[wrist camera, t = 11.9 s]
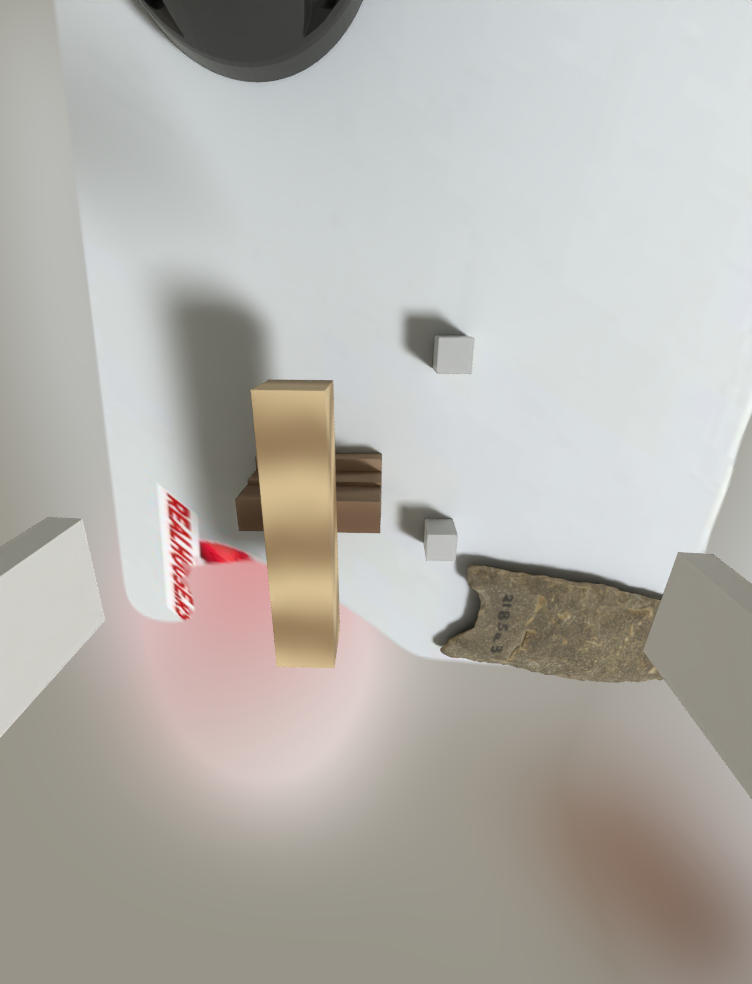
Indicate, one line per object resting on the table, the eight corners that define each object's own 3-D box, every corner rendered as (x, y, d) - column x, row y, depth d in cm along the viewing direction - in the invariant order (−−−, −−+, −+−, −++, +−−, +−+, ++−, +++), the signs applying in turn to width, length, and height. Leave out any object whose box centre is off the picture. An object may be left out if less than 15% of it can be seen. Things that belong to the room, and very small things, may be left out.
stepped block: (260, 452, 37) (233, 481, 30) (381, 453, 37) (380, 484, 30) (265, 507, 39) (240, 546, 32) (380, 509, 39) (379, 549, 32)
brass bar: (268, 379, 28) (250, 390, 24) (333, 380, 28) (324, 390, 24) (288, 629, 35) (276, 666, 31) (339, 630, 35) (334, 667, 31)
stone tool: (436, 649, 45) (677, 685, 46) (439, 670, 42) (695, 707, 43) (462, 553, 41) (725, 595, 42) (468, 569, 38) (749, 614, 39)
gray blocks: (434, 335, 33) (438, 337, 31) (466, 335, 33) (474, 337, 30) (423, 543, 40) (426, 560, 37) (450, 543, 40) (455, 561, 37)
